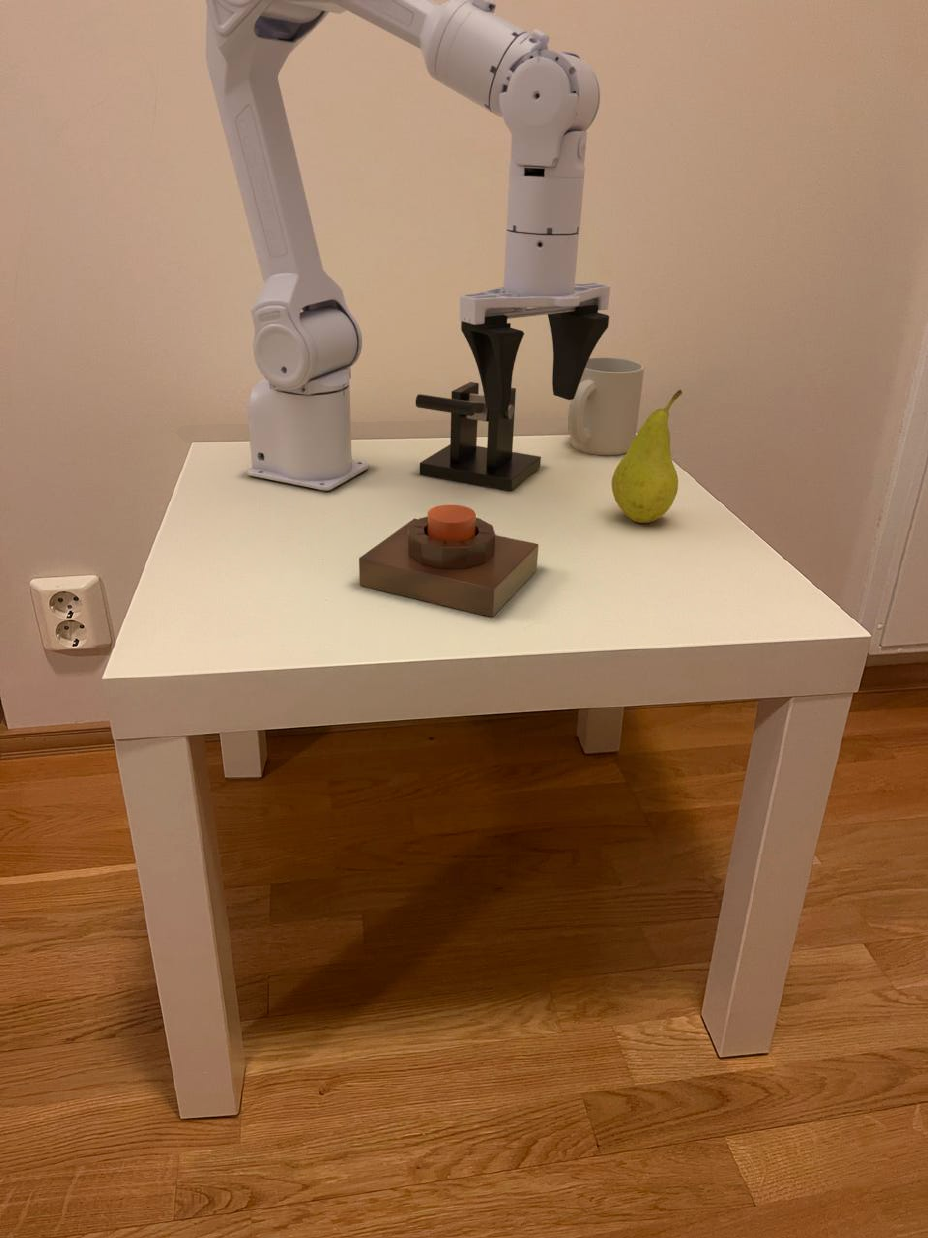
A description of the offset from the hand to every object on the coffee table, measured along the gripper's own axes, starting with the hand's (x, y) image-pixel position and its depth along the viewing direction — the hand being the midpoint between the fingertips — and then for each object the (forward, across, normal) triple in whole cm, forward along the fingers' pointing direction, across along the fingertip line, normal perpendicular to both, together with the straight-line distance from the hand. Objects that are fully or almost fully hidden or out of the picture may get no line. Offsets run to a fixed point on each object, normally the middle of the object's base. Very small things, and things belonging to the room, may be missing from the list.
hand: (531, 403), depth 78 cm
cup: (+10, +19, +10) cm, 24 cm away
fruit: (+10, +8, -7) cm, 15 cm away
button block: (+10, -14, -7) cm, 18 cm away
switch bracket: (+10, +4, +11) cm, 16 cm away
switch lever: (+4, 0, +9) cm, 10 cm away
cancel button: (+6, -14, -7) cm, 16 cm away
